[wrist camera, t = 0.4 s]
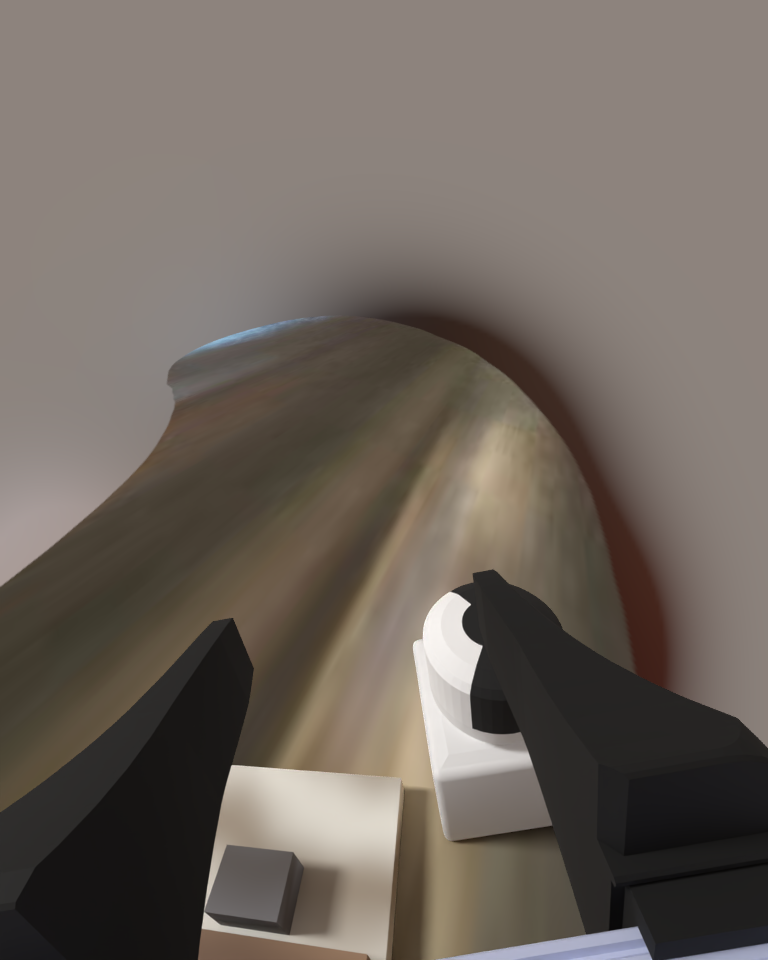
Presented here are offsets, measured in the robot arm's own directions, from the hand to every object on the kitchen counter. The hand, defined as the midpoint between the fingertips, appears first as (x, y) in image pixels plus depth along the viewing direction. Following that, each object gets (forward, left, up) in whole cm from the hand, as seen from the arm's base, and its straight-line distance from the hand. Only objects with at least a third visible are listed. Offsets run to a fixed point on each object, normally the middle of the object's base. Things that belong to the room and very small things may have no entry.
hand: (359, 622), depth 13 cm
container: (+5, -4, -20) cm, 21 cm away
